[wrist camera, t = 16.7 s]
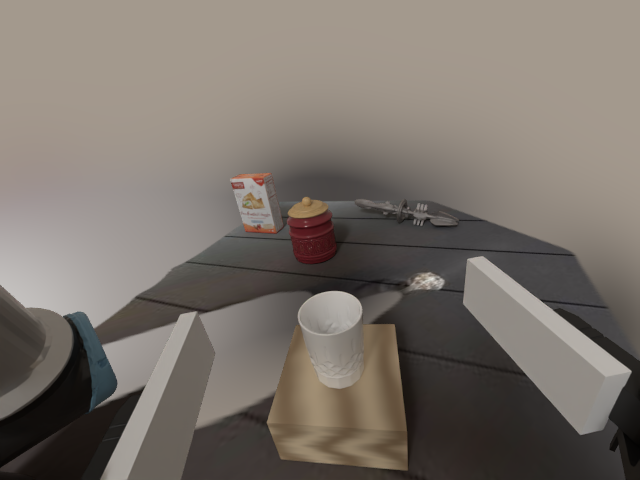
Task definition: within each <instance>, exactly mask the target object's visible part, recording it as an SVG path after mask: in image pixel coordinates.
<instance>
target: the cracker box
mask: <svg viewBox="0 0 640 480" xmlns="http://www.w3.org/2000/svg"><path fill="white" fill-rule="evenodd" d="M230 180H231V184H232V187H233V190H234V194H235V197H236V200H237V204H238V207H239V211H240V214H241V218H242V221H243V224H244V228H245V231H246V232H260V233H277V232H279V231H280V230H281V229H282V228H283V227H284V226H283V221H282V217H281V212H280V208H279V203H278V199H277V195H276V190H275V186H274V182H273V177H272V174H271V173H264V174H240V175H237V176H235V177H233V178H231V179H230Z"/></svg>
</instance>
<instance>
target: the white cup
mask: <svg viewBox="0 0 640 480" xmlns="http://www.w3.org/2000/svg"><path fill="white" fill-rule="evenodd" d="M298 321H299V324H300V327H301V331H302V334H303V337H304V341H305V344H306V348H307V350H308V353H309V356H310V359H311V362H312V364H313V367H314V370H315V373H316V375H317V377H318V379H319V381H320V382H321V383H323V384H324V385H326V386H327V387H329V388H336V389H342V388H346V387H349V386H352V385H353V384H354V383H355V382H357V381H358V380H359V379H360V377H361V375H362V373H363V370H364V359H363V354H364V332H363V313H362V305H361V303H360V302H359V300H358V299H357V298H356V297H354V296H353V295H351V294H349V293H346V292H341V291H328V292H323V293H320V294H317V295H315V296H313V297H311V298H309V299H308V300H307V301H305V302H304V304H303V305H302V306H301V308H300V309H299V312H298Z"/></svg>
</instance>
